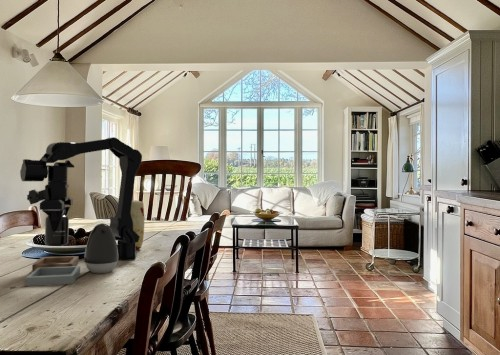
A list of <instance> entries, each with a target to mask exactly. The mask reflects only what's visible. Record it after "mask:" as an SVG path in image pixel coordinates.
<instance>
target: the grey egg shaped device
mask: <svg viewBox="0 0 500 355" xmlns="http://www.w3.org/2000/svg"><path fill="white" fill-rule="evenodd" d="M83 261H84V264H85V266H86V269H87V270H88V271H89V272H91V273H93V274H100V275H101V274H107V273H110V272H111V271H113V270H114V269H115V268H116V267H117V264H118V262H119V261H120V260H119V254H118V248H117V240H116V239H115V236H114V233H113V231H112V229H111V228H110V224H107V223H104V222H101V223H99V224H96V225H95V226H94V227H93V228H92V230H91V232H90V234H89V236H88V240H87V243H86V247H85V250H84V258H83Z"/></svg>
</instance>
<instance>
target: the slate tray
mask: <svg viewBox="0 0 500 355" xmlns="http://www.w3.org/2000/svg"><path fill="white" fill-rule="evenodd" d="M80 274H81V265H77V266H72V267H41V268H37V269H36V270H34V271H33V272H32V271H31V272H30V274H28V275H27V276H26V277H25V286H27V287H28V286H31V287H32V286H51V285H73V284H74V283H75V282H76V280H77V279H78V277H79V276H80Z"/></svg>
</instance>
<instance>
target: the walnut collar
mask: <svg viewBox="0 0 500 355" xmlns="http://www.w3.org/2000/svg"><path fill="white" fill-rule="evenodd" d="M79 261H80V260H79V256H78V255H77V256H76V255H75V256H74V255H72V256H42V257H40V258H39V259H37V260H36V261H35V262H33V264H31V265H32V267H31V268H32V269H31V273H32V272H33V271H34V270H36V269H37V268H41V267H72V266H79V264H80V263H79Z"/></svg>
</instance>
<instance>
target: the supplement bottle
mask: <svg viewBox="0 0 500 355" xmlns="http://www.w3.org/2000/svg"><path fill="white" fill-rule="evenodd" d="M64 209H65V210H64V213H63V216H62V218H61V221H60V223H59V226H58V228H57V231H52V228H51V224H50V220H49V217H48V215H47V216H46V217H45V220H44V222H45V225H44V226H45V227H44V244H45V246H49V247H50V246H52V247H53V246H55V247H56V246H65V245H68V244H69V229H70V228H69V226H70V225H69V223H70V221H69V216H68V215H67V216H66V215H65V213H66V207H64Z"/></svg>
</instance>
